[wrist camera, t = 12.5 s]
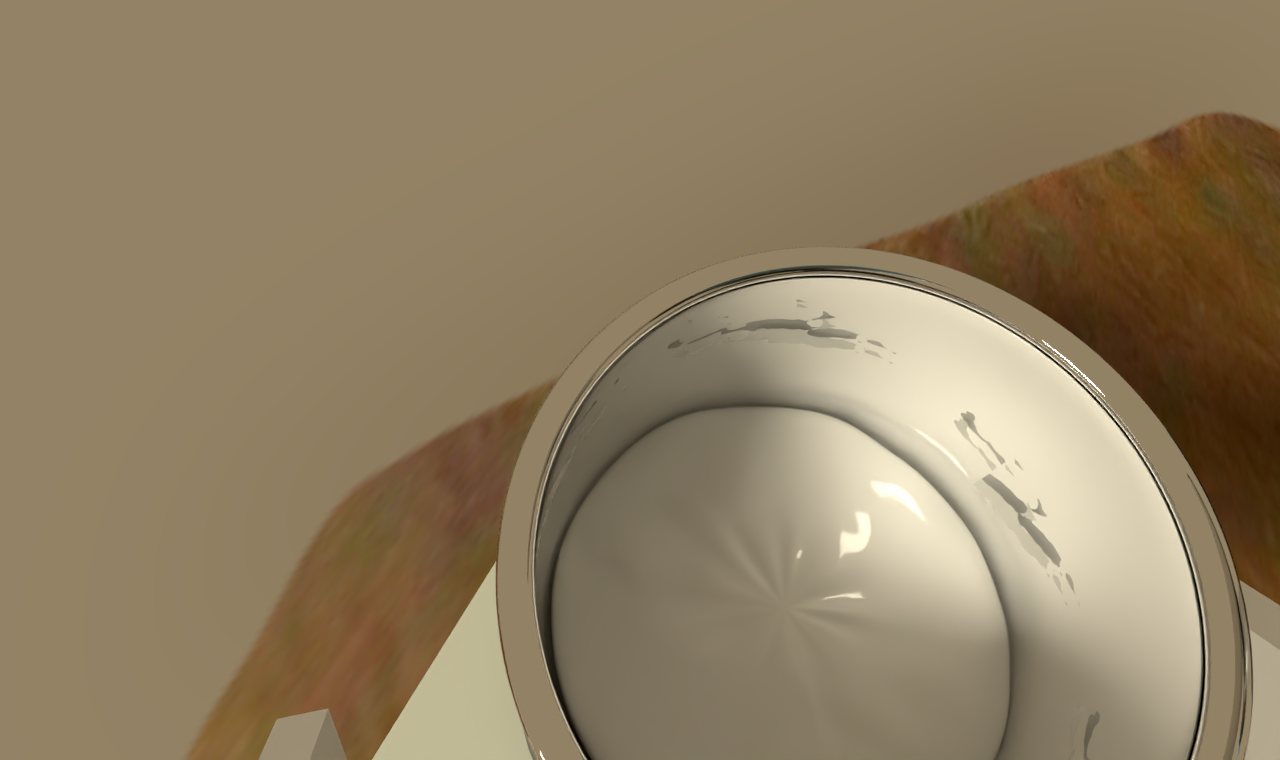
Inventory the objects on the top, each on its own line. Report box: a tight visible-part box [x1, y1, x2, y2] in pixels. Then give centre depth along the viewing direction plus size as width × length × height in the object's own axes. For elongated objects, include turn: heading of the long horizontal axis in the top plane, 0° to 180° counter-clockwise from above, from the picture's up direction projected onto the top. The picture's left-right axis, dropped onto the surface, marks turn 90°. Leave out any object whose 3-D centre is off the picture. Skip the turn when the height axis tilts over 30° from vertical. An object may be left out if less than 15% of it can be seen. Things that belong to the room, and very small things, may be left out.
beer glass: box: [496, 247, 1253, 760], centre depth 13 cm, size 7×7×15 cm
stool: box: [372, 562, 536, 760], centre depth 25 cm, size 14×14×11 cm
